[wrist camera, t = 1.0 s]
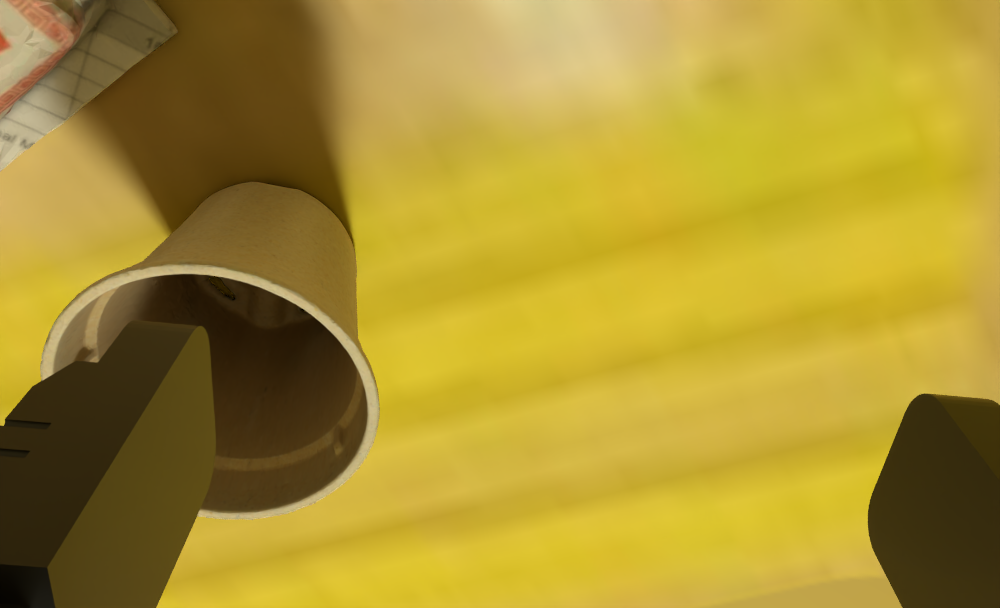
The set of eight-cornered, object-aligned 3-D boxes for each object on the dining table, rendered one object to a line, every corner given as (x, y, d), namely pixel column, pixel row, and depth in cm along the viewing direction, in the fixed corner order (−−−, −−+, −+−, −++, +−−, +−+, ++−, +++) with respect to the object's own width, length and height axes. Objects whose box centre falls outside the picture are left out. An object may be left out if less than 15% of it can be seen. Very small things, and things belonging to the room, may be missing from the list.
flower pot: (202, 80, 28) (107, 202, 21) (448, 219, 31) (439, 366, 24) (104, 285, 33) (-3, 443, 25) (329, 389, 36) (290, 558, 28)
